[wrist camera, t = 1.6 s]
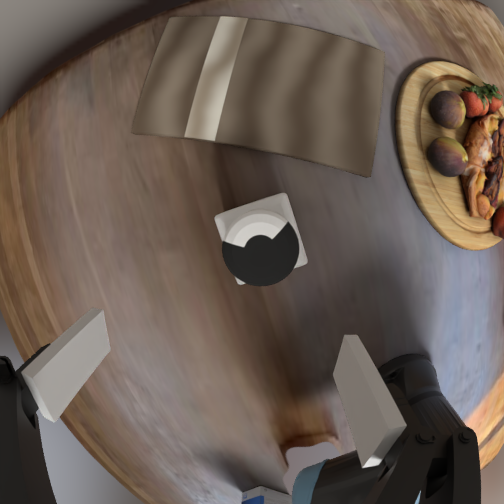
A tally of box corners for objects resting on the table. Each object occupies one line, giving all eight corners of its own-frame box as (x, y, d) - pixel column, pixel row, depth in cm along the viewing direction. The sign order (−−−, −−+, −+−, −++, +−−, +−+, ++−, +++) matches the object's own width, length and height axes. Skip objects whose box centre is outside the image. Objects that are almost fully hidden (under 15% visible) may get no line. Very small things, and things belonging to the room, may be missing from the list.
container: (300, 249, 35) (318, 280, 22) (243, 267, 36) (231, 306, 23) (281, 192, 34) (291, 190, 21) (224, 211, 35) (200, 221, 22)
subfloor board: (381, 56, 28) (385, 51, 27) (366, 177, 33) (370, 176, 31) (172, 21, 29) (169, 16, 27) (135, 134, 33) (130, 132, 31)
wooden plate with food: (522, 232, 32) (550, 238, 24) (411, 267, 35) (441, 283, 27) (492, 77, 27) (516, 66, 19) (365, 58, 29) (385, 31, 21)
